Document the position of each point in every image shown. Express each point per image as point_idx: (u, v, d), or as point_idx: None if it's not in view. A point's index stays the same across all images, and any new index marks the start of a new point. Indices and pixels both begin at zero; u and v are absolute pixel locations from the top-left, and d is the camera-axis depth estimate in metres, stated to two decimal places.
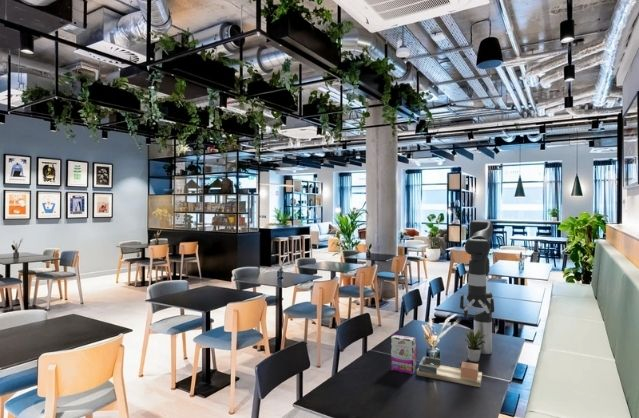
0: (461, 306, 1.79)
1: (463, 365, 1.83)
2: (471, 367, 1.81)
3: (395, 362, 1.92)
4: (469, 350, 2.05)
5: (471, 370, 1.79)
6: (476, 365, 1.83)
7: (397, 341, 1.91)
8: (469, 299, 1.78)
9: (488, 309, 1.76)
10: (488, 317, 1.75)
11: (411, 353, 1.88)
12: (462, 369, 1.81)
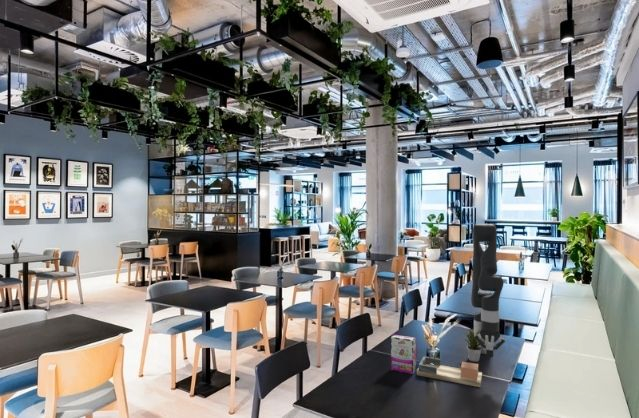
0: (483, 345, 1.79)
1: (463, 365, 1.83)
2: (471, 367, 1.81)
3: (395, 362, 1.92)
4: (469, 350, 2.05)
5: (471, 370, 1.79)
6: (476, 365, 1.83)
7: (397, 341, 1.91)
8: (483, 337, 1.79)
9: None
10: (492, 354, 1.78)
11: (411, 353, 1.88)
12: (462, 369, 1.81)
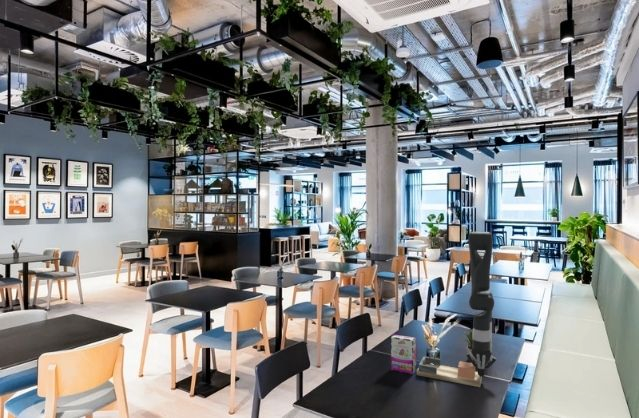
0: (475, 364, 1.81)
1: (460, 365, 1.83)
2: (468, 366, 1.82)
3: (395, 362, 1.92)
4: (469, 350, 2.05)
5: (468, 370, 1.80)
6: None
7: (397, 341, 1.91)
8: (474, 356, 1.81)
9: None
10: (483, 373, 1.80)
11: (411, 353, 1.88)
12: (460, 368, 1.81)
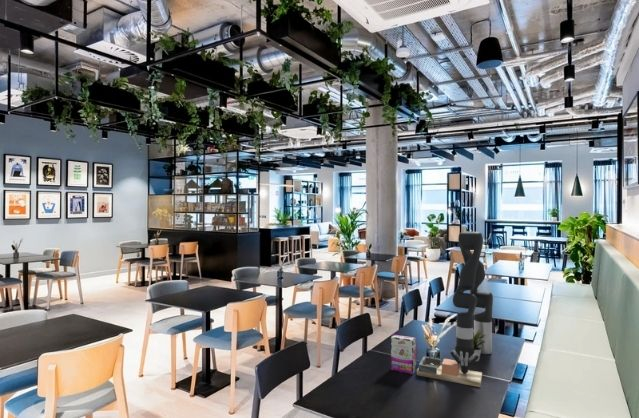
0: (458, 361, 1.84)
1: (444, 362, 1.87)
2: (452, 363, 1.85)
3: (395, 362, 1.92)
4: None
5: (452, 367, 1.83)
6: None
7: (397, 341, 1.91)
8: (458, 353, 1.84)
9: None
10: (466, 370, 1.83)
11: (411, 353, 1.88)
12: (443, 365, 1.85)
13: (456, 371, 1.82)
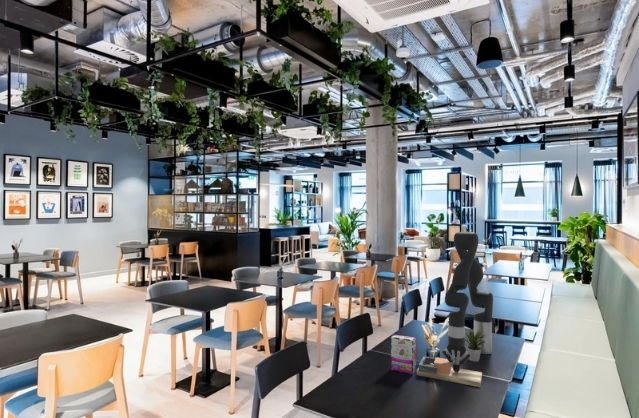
0: (450, 360, 1.85)
1: (436, 361, 1.88)
2: (444, 362, 1.86)
3: (395, 362, 1.92)
4: (469, 350, 2.05)
5: (444, 365, 1.84)
6: None
7: (397, 341, 1.91)
8: (450, 352, 1.86)
9: None
10: (458, 368, 1.84)
11: (411, 353, 1.88)
12: (435, 364, 1.86)
13: (448, 370, 1.84)
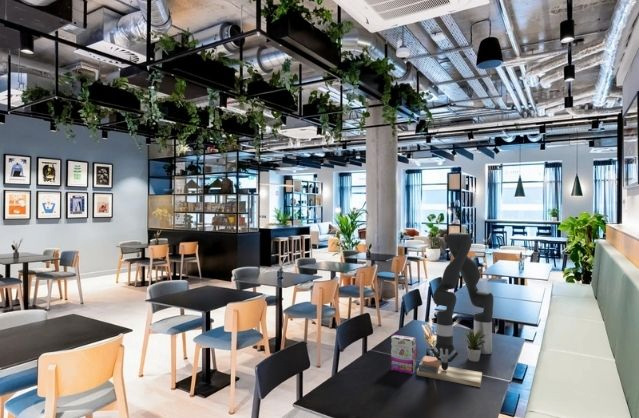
0: (438, 358, 1.88)
1: (425, 359, 1.90)
2: (432, 360, 1.88)
3: (395, 362, 1.92)
4: (469, 350, 2.05)
5: (432, 363, 1.86)
6: None
7: (397, 341, 1.91)
8: (438, 350, 1.88)
9: None
10: (446, 366, 1.86)
11: (411, 353, 1.88)
12: (424, 363, 1.88)
13: None
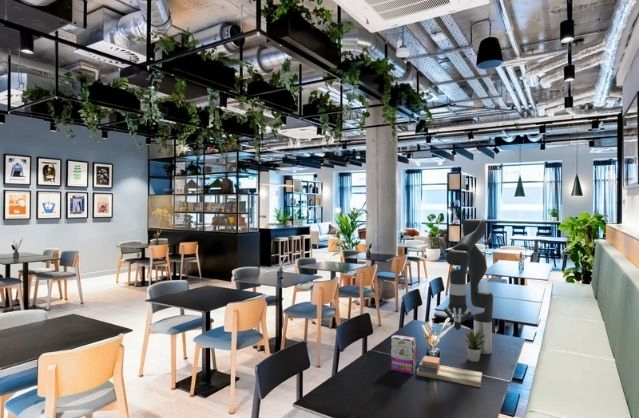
0: (451, 317, 1.86)
1: (425, 359, 1.90)
2: (432, 360, 1.88)
3: (395, 362, 1.92)
4: (469, 350, 2.05)
5: (432, 363, 1.86)
6: (437, 359, 1.90)
7: (397, 341, 1.91)
8: (451, 310, 1.86)
9: None
10: (459, 326, 1.85)
11: (411, 353, 1.88)
12: (424, 363, 1.88)
13: None
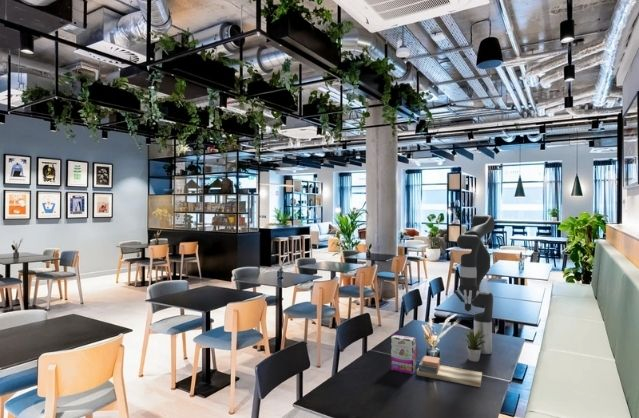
0: (462, 299, 1.93)
1: (425, 359, 1.90)
2: (432, 360, 1.88)
3: (395, 362, 1.92)
4: (469, 350, 2.05)
5: (432, 363, 1.86)
6: (437, 359, 1.90)
7: (397, 341, 1.91)
8: (462, 292, 1.94)
9: None
10: (469, 307, 1.92)
11: (411, 353, 1.88)
12: (424, 363, 1.88)
13: None
